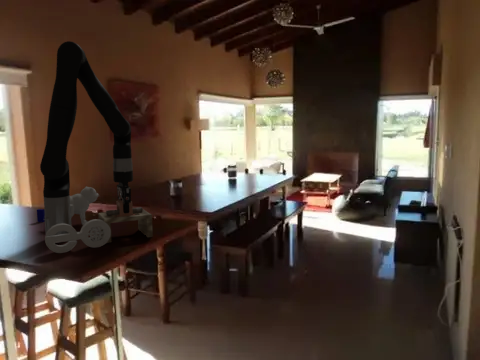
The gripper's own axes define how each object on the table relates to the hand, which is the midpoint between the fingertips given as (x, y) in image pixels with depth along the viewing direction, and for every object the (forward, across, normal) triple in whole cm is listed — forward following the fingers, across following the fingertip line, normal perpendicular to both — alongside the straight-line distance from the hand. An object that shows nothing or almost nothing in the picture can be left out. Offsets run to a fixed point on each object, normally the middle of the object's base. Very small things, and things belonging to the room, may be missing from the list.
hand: (124, 211), depth 164 cm
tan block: (+2, 0, 0) cm, 2 cm away
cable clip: (+10, -50, -26) cm, 57 cm away
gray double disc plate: (+10, +10, -19) cm, 24 cm away
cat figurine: (+10, -30, -16) cm, 35 cm away
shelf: (+10, 0, 0) cm, 10 cm away
